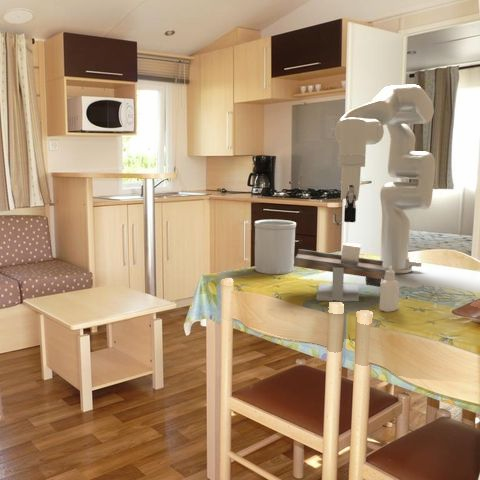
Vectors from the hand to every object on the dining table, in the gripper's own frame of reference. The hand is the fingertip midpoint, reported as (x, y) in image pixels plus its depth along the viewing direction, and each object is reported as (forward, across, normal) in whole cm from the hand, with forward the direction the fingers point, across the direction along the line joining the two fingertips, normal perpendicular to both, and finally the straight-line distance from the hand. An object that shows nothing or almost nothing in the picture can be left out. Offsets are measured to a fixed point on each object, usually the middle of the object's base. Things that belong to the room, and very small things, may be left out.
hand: (349, 220), depth 172 cm
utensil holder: (+22, -31, -26) cm, 46 cm away
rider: (+13, -1, 0) cm, 13 cm away
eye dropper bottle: (+23, +14, +11) cm, 29 cm away
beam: (+17, -1, -3) cm, 18 cm away
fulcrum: (+22, -1, -3) cm, 23 cm away
